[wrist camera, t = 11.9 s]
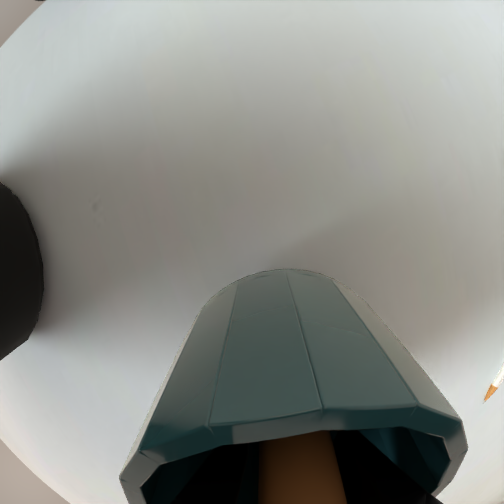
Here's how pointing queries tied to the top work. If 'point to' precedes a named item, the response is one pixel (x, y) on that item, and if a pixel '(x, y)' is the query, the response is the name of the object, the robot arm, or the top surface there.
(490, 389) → the pencil
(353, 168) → the top surface
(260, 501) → the tan wooden dowel
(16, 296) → the coffee jar
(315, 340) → the teal cup
